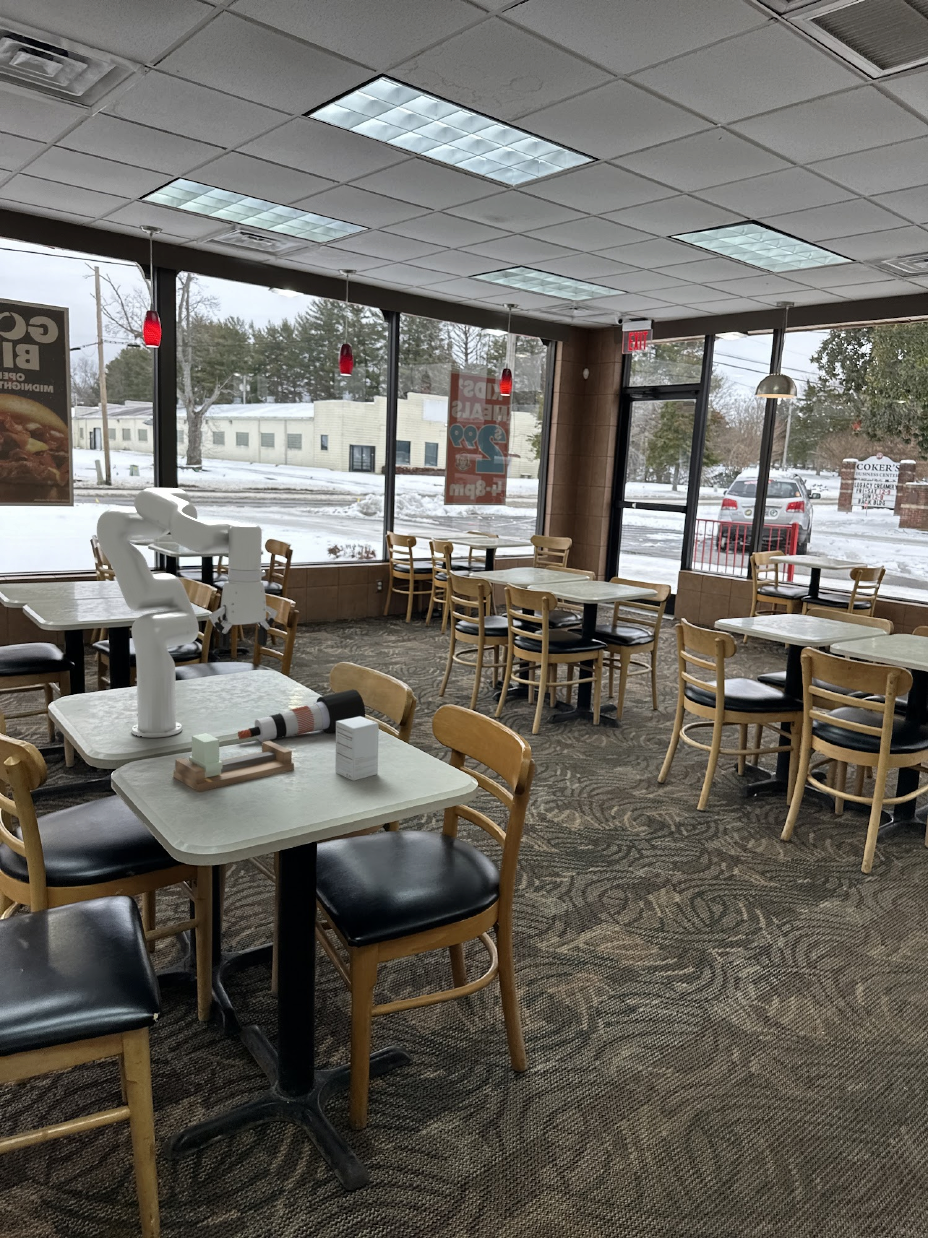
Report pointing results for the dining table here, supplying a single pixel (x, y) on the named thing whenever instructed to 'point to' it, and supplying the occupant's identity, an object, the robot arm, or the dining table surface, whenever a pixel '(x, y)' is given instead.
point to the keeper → (206, 754)
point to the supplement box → (357, 748)
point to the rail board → (237, 768)
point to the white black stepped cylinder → (309, 717)
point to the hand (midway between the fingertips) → (243, 647)
